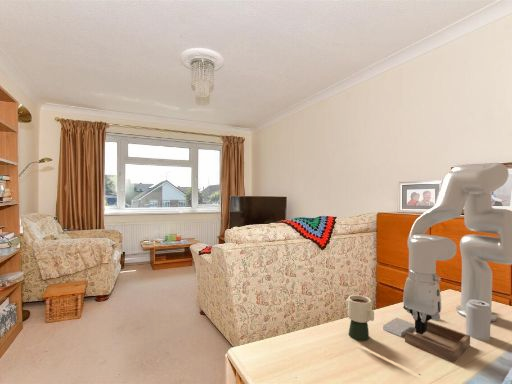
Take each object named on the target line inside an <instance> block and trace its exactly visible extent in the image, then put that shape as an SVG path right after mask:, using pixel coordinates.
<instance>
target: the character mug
mask: <svg viewBox="0 0 512 384" xmlns="http://www.w3.org/2000/svg"><path fill="white" fill-rule="evenodd" d="M345 308H346V309H347V317H348V319H349V320H350V323H349V329H348V336H349V337H350V338H351V339H353V340H355V341H357V342H358V341H360V342H367V341H369V339H370V336H369V335H370V332H369V325H368V323H369V322H370V321H371V322H374V320H375V311H374V310H373V309H372V299H371V298H369V297H367V296H365V295H360V294H352V295H348V298H346V301H345Z"/></svg>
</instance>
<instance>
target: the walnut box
mask: <svg viewBox="0 0 512 384" xmlns="http://www.w3.org/2000/svg"><path fill="white" fill-rule="evenodd" d="M404 342H405V343H407V344H408V345H411V346H414V347H416V348H418V349H421V350H423V351H426V352H428V353H431V354H432V355H434V356H437V357H440V358H442V359H444V360H446V361H449V362H451V363H455V361H456V360H457V359H458V358H459V357H461V355H463V353H465V351H466V350H468V348H469V347H470V346H471V337H470V336H469V335H467V334H466V333H464V332H460V331H457V330H455V329H451V328H449V327H446V326H443V325H441V324H437V323H435V322H432V321H430V320H429V321H427V331H426V332H425V333H423V334H422V335H421V334H420V333H412V332H411V331H409V332H407V331H406V332H405V335H404Z"/></svg>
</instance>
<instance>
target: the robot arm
mask: <svg viewBox="0 0 512 384" xmlns="http://www.w3.org/2000/svg"><path fill="white" fill-rule="evenodd" d="M509 173H510V172H509V169H508V167H507V166H506V165H505V164H503V163H501V162H488V163H487V162H486V163H465V164H459V165H456V166H453V167H452V168H451V170H450V171H449V172H447V173H446V174H445V175H444V177H443V179H442V181H441V184H440V188H439V190H438V193H437V196H436V197H435V198H436V199H435V201H434V205H433V206H432V207H431V208H429V209H427V210H426V211H425V212H423V213H422V214H421V215H420V216H418V218H416V220H415V221H414V222H413V224H412V226H411V229H410V232H409V234H408V236H407V248H408V276H407V277H406V279H405V284H404V286H403V287H404V288H403V297H402V299H403V300H402V302H403V303H402V304H403V309H404V310H405V311H406V312H407V311H408V312H407V313H409V312H410V313H409V314H410V315H411V316H412V317H413V318H412V319H413V320H414V329H415V334H417V333H420V334H421V335H422V334H423V333H425V332H426V331H427V321H429V322H430V320H432V321H440V320H441V316H440V314H441V312H442V297H441V296H442V295H441V289H440V284H439V282H441V280H442V279H441V276H438V275H437V272H436V270H437V268H436V267H437V261H448V260H451V259H453V258H454V257H455V255H456V254H457V251H458V250H457V249H458V248H457V244H456V242H455V241H453V240H452V239H451V238H449V237H445V236H438V235H433V234H426V232H428V230H429V229H430V228H431V227H433V226H434V225H437V224H440V223H443V222H446V221H449V220H454V219H457V218H458V217H460V216H461V215H462V214H463V215H464V217H463V222H464V227H465V228H466V229H467V230H469V231H472V232H476V233H477V232H478V233H485V234H493V235H497V236H498V237H497V236H489V235H483V234H482V235H481V234H472V233H471V234H465V235H463V236H462V237H461V239H460V241H459V251H460V254H461V255H460V256H461V287H460V288H461V291H460V292H461V294H460V305H456V307H455V311H456V312H457V313H458V314H459V315H462V316H463V317H465V318H466V304H467V302H468V300H470V299H474V300H480V301H483V302H486V303H488V304H489V307H490V308H491V309H492V302H493V271H492V269H491V267H490V265H489V264H488V262H490V263H496V264H501V265H506V266H507V265H510V266H512V210H511V209H505V208H493V206H492V205H493V204H492V203H493V201H492V199H493V198H492V193H494V192H495V191H497V190H498V189H501V188H502V187H504V185H505V184H506V183H507V181H508V179H509ZM463 211H464V212H463ZM420 312H421V313H422V316H421V314H420ZM496 320H497V315H496V314H495V313H493V312H492V311H491V322H495V321H496Z"/></svg>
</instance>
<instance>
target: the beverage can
mask: <svg viewBox="0 0 512 384" xmlns="http://www.w3.org/2000/svg"><path fill="white" fill-rule="evenodd" d="M491 312H492V307H491V308H490V307H489V304H488V303H486V302H483V301H480V300H474V299H470V300H468V302H467V304H466V317H465V334H466V335H469V336H470V338H472V339H476V340H479V341H484V342H485V341H490V340H491V322H492V321H491Z"/></svg>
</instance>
